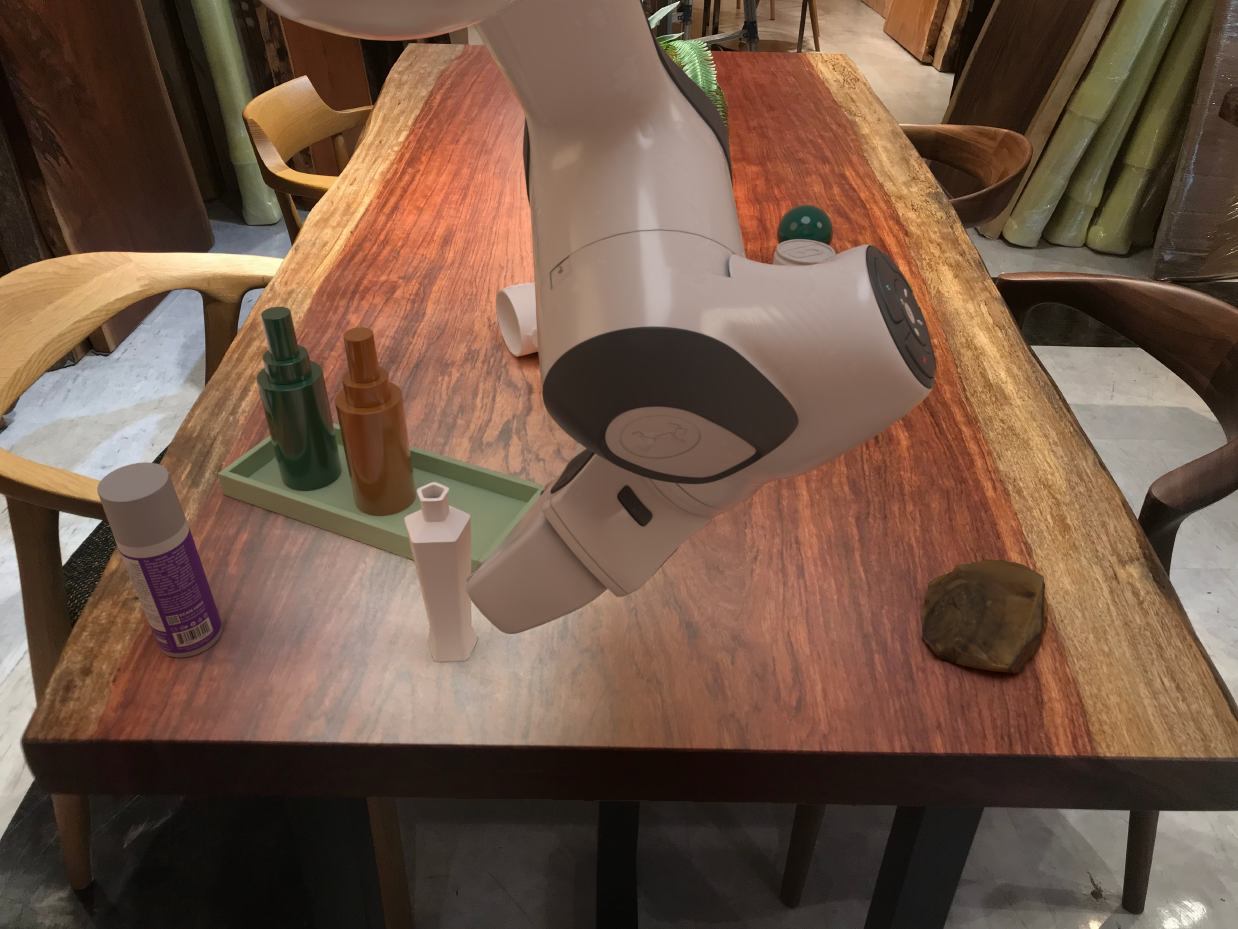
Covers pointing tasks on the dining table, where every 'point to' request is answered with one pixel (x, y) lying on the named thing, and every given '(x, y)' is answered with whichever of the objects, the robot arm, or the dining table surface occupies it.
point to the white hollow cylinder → (518, 318)
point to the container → (161, 558)
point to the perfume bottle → (443, 571)
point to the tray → (332, 508)
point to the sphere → (805, 225)
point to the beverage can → (801, 252)
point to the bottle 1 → (296, 408)
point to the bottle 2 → (374, 431)
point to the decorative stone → (986, 615)
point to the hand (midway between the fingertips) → (516, 537)
